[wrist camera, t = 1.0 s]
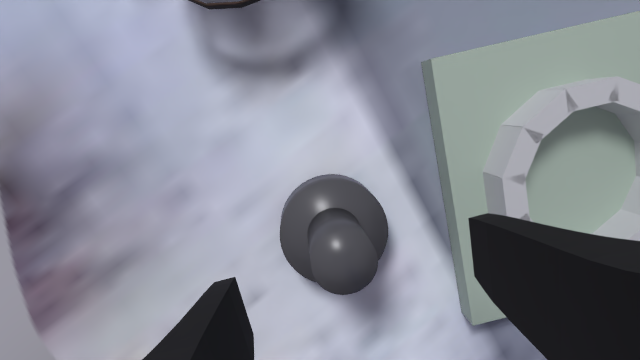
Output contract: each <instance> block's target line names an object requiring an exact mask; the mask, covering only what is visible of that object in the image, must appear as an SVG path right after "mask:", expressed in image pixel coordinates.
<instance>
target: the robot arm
mask: <svg viewBox="0 0 640 360" xmlns="http://www.w3.org/2000/svg"><path fill="white" fill-rule="evenodd" d="M468 220H469V230H470V239H471V249H472V259H473V269H474V277H475V278H476V279H477V281H478V282H479V284H480V285H481V287H482V288H483V290H484V291H485V292H486V294H487V295H488V296H489V298H490V299H491V300H492V302H493V303H494V304H495V305H496V306H497V307H498V308H499V309H500V310H501V312H502V313H503V314H504V315H505V316H506V317H507V318H508V319H509V320H510V321H511V322H512V323H513V324H514V325H515V326H516V327H517V328H518V329H519V330H520V332H521V333H522V334H523V335H524V336H525V337H526V338H527V339H528V340H529V341H530V342H531V343H532V344H533V345H534V346H535V347H536V348H537V349H538V350H539V351H540V352H541V353H542V354H543V355H544V356H545V358H546V359H547V360H640V241H635V240H627V239H619V238H612V237H605V236H599V235H594V234H588V233H583V232H577V231H572V230H567V229H563V228H558V227H553V226H549V225H544V224H540V223H535V222H531V221H527V220H522V219H518V218H513V217H509V216H504V215H498V214H490V213H486V214H482V215H478V216H474V217H470V218H468ZM142 360H254V337H253V331H252V328H251V325H250V322H249V319H248V316H247V313H246V310H245V306H244V303H243V300H242V297H241V294H240V291H239V288H238V285H237V281H236V278H235V277H233V278H229V279H225V280H221V281H218V282H214V283H213V284H212V285H211V286H210V287H209V288H208V290H207V291H206V292H205V293H204V294H203V295H202V296H201V298H200V299H199V300H198V301H197V302H196V303H195V305H194V306H193V307H192V308H191V309H190V310H189V311H188V313H187V314H186V315H185V316H184V317H183V318H182V319H181V320H180V322H179V323H178V324H177V325H176V326H175V327H174V328H173V329H172V330H171V331H170V332H169V333H168V334H167V335H166V336H165V337H164V339H163V340H162V341H161V342H160V343H159V344H158V345H157V346H156V347H155V348H154V349H153V350H152V351H151V352H150V353H149V354H148V355H147V356H146V357H145V358H144V359H142Z"/></svg>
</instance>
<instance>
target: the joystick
mask: <svg viewBox="0 0 640 360" xmlns="http://www.w3.org/2000/svg"><path fill="white" fill-rule="evenodd" d="M387 237H388V224H387V219H386V215H385V213H384V210H383V208H382V206H381V205H380V203H379V202H378V201H377V199H376V198H375V197H374V196H373V195H372V194H371V193H370V192H369V190H368V189H366V188H365V187H364V186H363V185H362V184H361V183H359V182H358V181H356V180H354V179H352V178H349V177H346V176H342V175H335V174H329V175H321V176H317V177H314V178H312V179H309V180H307V181H306V182H304V183H302V184H301V185H300V186H299V187H297V188H296V189H295V190H294V191H293V192H292V194H291V195H290V196H289V198H288V199H287V201H286V203H285V205H284V208H283V211H282V216H281V226H280V242H281V247H282V250H283V253H284V255H285V257H286V259H287V261H288V262H289V264H290V265H291V266H292V267H293V268H294V269H295V270H296V271H297V272H298V273H299V274H301V275H302V276H304V277H305V278H307V279H309V280H311V281H314V282H317V283H318V284H319V285H320V286H321V287H322V288H324V289H325V290H327V291H329V292H331V293H334V294H340V295H346V294H352V293H355V292H358V291H360V290H362V289H363V288H364V287H366V286H367V285H368V284H369V283H370V282H371V280H372V279H373V277H374V276H375V273H376V271H377V266H378V261H379V259H380V257H381V256H382V254H383V252H384V249H385V246H386V243H387Z"/></svg>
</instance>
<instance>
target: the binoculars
mask: <svg viewBox="0 0 640 360" xmlns="http://www.w3.org/2000/svg"><path fill="white" fill-rule="evenodd" d="M189 1H191V2H194V3H196V4H198V5H201V6H203V7H205V8H208V9H226V8H242V7H245V6H247V5H250V4H252V3H255V2H258V1H260V0H242V1H239V2H224V3H204V2H201V1H199V0H189Z"/></svg>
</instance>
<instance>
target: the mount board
mask: <svg viewBox="0 0 640 360" xmlns="http://www.w3.org/2000/svg"><path fill="white" fill-rule="evenodd" d="M421 64H422V70H423V77H424V83H425V89H426V95H427V101H428V107H429V114H430V120H431V126H432V132H433V138H434V144H435V150H436V157H437V163H438V169H439V175H440V181H441V187H442V194H443V200H444V206H445V212H446V218H447V224H448V230H449V237H450V243H451V249H452V255H453V261H454V267H455V274H456V280H457V286H458V292H459V298H460V304H461V310H462V313H463V315H464V316H465V317H466V318H467V319H468V321H469V322H470V323H471V324H472V325H473V326H474V325H478V324H482V323H486V322H490V321H494V320H498V319H502V318H506V316H505V315H504V314H503V313H502V312H501V310H500V309H499V308H498V307H497V306H496V305H495V304H494V303H493V302H492V300H491V299H490V298H489V296H488V295H487V294H486V292H485V291H484V290H483V288H482V287H481V285H480V284H479V282H478V281H477V279H476V278H475V277H474V269H473V259H472V249H471V239H470V230H469V220H468V218H470V217H474V216H478V215H482V214H486V213H490V214H498V215H504V216H509V217H513V218H518V219H522V220H527V221H531V222H535V223H540V224H544V225H549V226H553V227H558V228H563V229H567V230H572V231H577V232H583V233H588V234H594V235H599V236H605V237H612V238H619V239H627V240H635V241H640V11H637V12H633V13H628V14H624V15H620V16H615V17H611V18H607V19H602V20H598V21H594V22H589V23H585V24H581V25H576V26H572V27H568V28H563V29H559V30H554V31H550V32H546V33H541V34H537V35H533V36H528V37H524V38H520V39H515V40H511V41H507V42H502V43H498V44H494V45H489V46H485V47H481V48H476V49H472V50H468V51H463V52H459V53H454V54H450V55H446V56H441V57H437V58H433V59H429V60H426V61H423V62H421Z"/></svg>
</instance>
